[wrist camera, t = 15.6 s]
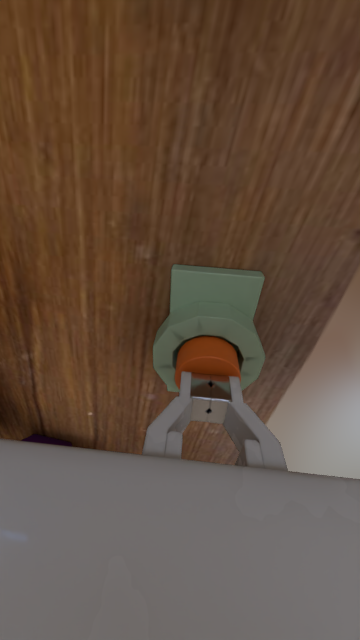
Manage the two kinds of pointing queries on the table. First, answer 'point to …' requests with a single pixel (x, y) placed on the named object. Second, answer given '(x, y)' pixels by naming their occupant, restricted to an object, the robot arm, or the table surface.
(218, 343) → the button
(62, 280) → the table surface
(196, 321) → the button box
